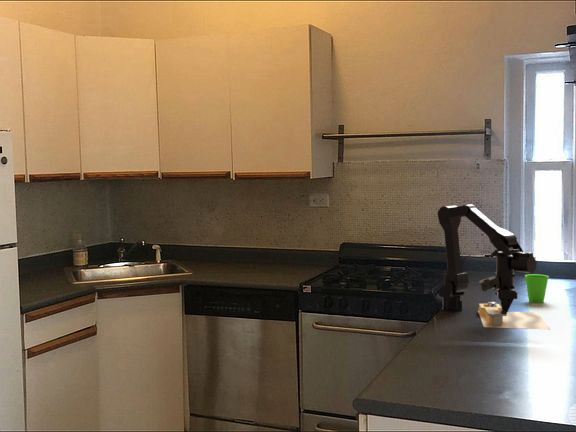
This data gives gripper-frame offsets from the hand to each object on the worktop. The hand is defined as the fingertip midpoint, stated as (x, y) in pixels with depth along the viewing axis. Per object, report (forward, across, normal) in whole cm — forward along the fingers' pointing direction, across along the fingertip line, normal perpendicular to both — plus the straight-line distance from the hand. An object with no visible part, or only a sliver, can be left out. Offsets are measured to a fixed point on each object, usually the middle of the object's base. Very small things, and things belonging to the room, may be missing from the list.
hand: (504, 314), depth 240 cm
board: (+3, -1, +3) cm, 4 cm away
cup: (+3, -34, +16) cm, 38 cm away
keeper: (+2, +6, -3) cm, 7 cm away
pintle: (+2, -10, -3) cm, 11 cm away
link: (+2, -3, -4) cm, 5 cm away
